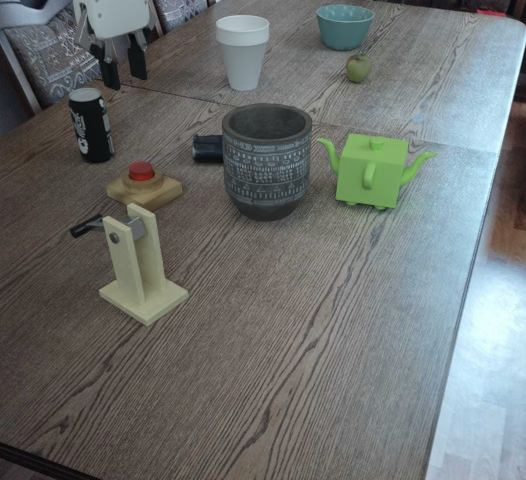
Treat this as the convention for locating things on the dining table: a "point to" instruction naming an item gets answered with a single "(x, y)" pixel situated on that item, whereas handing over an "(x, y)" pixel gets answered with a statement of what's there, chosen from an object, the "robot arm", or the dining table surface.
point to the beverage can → (91, 125)
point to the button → (141, 171)
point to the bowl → (343, 25)
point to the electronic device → (207, 148)
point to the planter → (266, 158)
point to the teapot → (372, 169)
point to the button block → (144, 190)
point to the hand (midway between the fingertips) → (126, 81)
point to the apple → (357, 67)
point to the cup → (243, 48)
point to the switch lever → (97, 225)
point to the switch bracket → (139, 270)
